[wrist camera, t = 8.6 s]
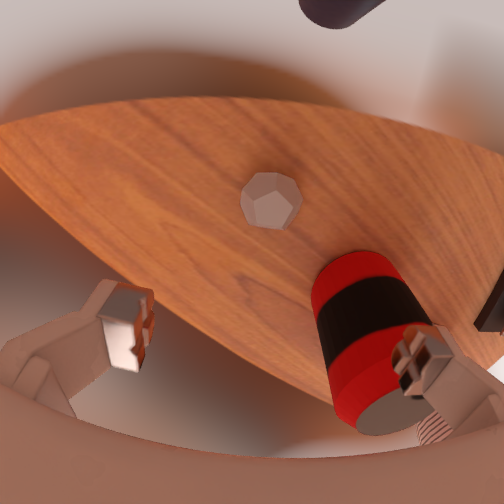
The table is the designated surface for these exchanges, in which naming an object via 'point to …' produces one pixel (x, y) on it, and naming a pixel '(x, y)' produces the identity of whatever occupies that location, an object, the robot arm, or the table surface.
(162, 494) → the robot arm
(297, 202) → the polyhedron
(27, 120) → the table surface
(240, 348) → the table surface
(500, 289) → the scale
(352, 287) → the soda can
